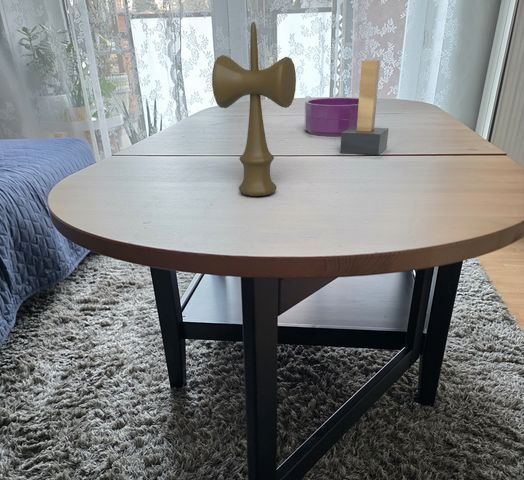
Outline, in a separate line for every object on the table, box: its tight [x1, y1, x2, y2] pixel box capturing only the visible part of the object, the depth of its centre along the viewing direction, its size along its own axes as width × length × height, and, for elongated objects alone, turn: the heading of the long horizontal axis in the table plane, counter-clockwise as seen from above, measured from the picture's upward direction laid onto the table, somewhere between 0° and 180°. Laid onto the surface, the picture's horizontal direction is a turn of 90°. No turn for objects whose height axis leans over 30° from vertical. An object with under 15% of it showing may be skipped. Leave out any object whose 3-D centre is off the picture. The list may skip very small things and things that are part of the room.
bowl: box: [304, 97, 359, 137], centre depth 111 cm, size 14×14×6 cm
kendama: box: [211, 21, 297, 197], centre depth 65 cm, size 6×10×20 cm, turn 68°
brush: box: [339, 59, 390, 156], centre depth 90 cm, size 7×7×14 cm
